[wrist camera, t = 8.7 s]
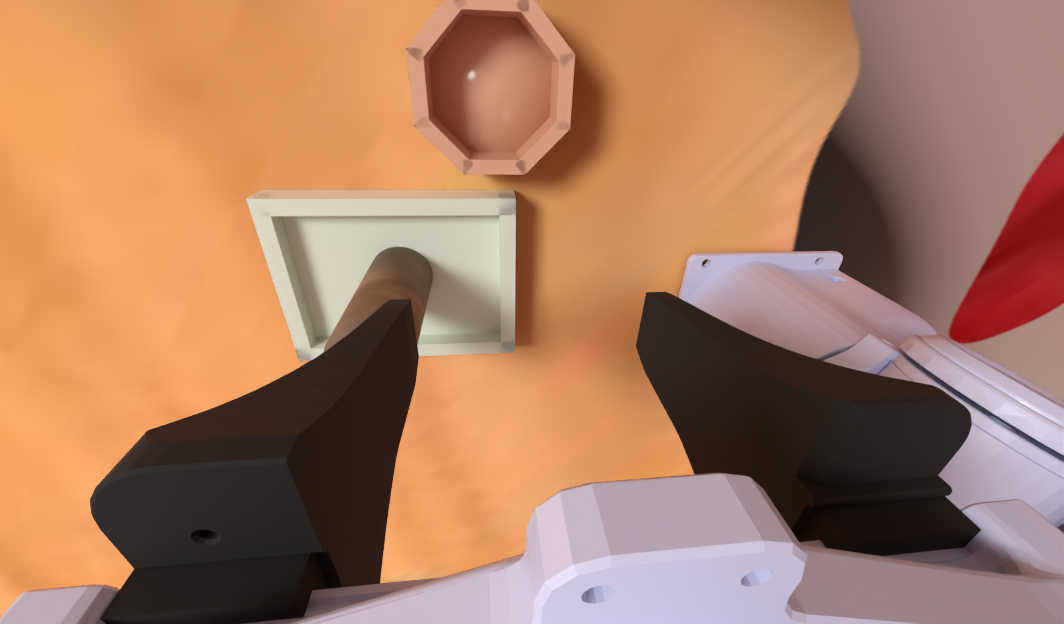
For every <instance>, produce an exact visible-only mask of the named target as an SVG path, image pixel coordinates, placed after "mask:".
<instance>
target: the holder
mask: <svg viewBox="0 0 1064 624" xmlns="http://www.w3.org/2000/svg"><path fill="white" fill-rule="evenodd" d="M406 53H407V62H408V71H409V80H410V89H411V99H412V108H413V117H414V126H415V127H416V128H417V129H418V130H419V131H420V132H421V133H422V134H423V135H424V136H425V137H426V138H427V139H428V140H429V141H430V142H431V143H432V144H433V145H434V146H435V147H436V148H437V149H438V150H439V151H440V152H441V153H442V154H444V155H445V156H446V157H447V158H448V159H449V160H450V161H451V162H452V163H453V164H454V165H455V166H456V167H457V168H458V169H459V170H460V171H461V172H462V173H463V174H464V175H465V174H504V175H526V173H527V172H528V171H529V170H530V169H531V168H532V167H533V166H534V165H535V164H536V163H537V162H538V161H539V160H540V159H541V158H542V157H543V156H544V155H545V154H546V153H547V152H548V151H549V150H550V149H551V148H552V147H553V146H554V145H555V144H556V143H557V142H558V141H559V140H560V139H561V138H562V137H563V136H564V135H565V134H566V133H567V132H568V131H569V130H570V129H571V128H570V123H571V108H572V94H573V79H574V65H575V54H574V52H573V51H572V50H571V48H570V47H569V46H568V44H567V43H566V42H565V40H564V39H563V38H562V36H561V35H560V34H559V32H558V31H557V30H556V28H555V27H554V26H553V24H552V23H551V21H550V20H549V19H548V17H547V16H546V15H545V13H544V12H543V11H542V9H541V8H540V7H539V5H538V4H537V3H536V1H535V0H444V1H443V2H442V3H441V4H440V6H439V7H438V8H437V10H436V11H435V12H434V13H433V15H432V16H431V17H430V19H429V20H428V21H427V22H426V24H425V25H424V26H423V28H422V29H421V30H420V31H419V33H418V34H417V35H416V37H415V38H414V39H413V40H412V42H411V43H410V44H409V46H408V47H407V48H406Z"/></svg>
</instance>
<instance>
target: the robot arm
mask: <svg viewBox="0 0 1064 624" xmlns="http://www.w3.org/2000/svg"><path fill="white" fill-rule="evenodd" d="M818 258H819V259H818ZM707 259H708V261H707V263H706V264H704V265H702V263H703V261H704V260H707ZM817 259H818V261H817V262H815V261H816V260H817ZM842 259H843V256H842V255H841V254H840V253H838V252H836V251H813V252H812V251H811V252H810V251H809V252H744V253H696V254H693V255H691V256H690V257H689V258H688V260H687V264H686V268H685V272H684V276H683V281H682V285H681V289H680V293H679V297H676V296H674V295H672V294H669V293H667V292H646V297H645V303H644V308H643V313H642V318H641V323H640V329H639V334H638V339H637V344H636V347H637V350H638V353H639V356H640V359H641V362H642V365H643V367H644V370H645V373H646V375H647V377H648V378H649V380H650V382H651V384H652V386H653V388H654V390H655V392H656V394H657V395H658V397H659V399H660V401H661V403H662V405H663V406H664V408H665V410H666V412H667V414H668V416H669V417H670V419H671V421H672V423H673V425H674V427H675V429H676V431H677V433H678V435H679V437H680V439H681V441H682V444H683V446H684V449H685V451H686V454H687V456H688V459H689V461H690V464H691V466H692V469H693V471H694V474H695V475H682V476H669V477H656V478H644V479H631V480H618V481H605V482H592V483H586V484H582V485H578V486H574V487H570V488H566V489H562V490H560V491H559V492H557V493H556V494H554V495H553V496H551V497H550V498H548V499H547V500H546V501H544V502H543V503H541V504H540V505H539V506H538V507H537V508H536V509H535V511H534V513H533V515H532V517H531V520H530V522H529V524H528V526H527V537H526V549H525V553H523V554H520V555H517V556H513V557H510V558H506V559H503V560H500V561H496V562H493V563H490V564H486V565H483V566H480V567H476V568H473V569H469V570H466V571H463V572H459V573H456V574H453V575H449V576H446V577H442V578H432V579H422V580H412V581H402V582H392V583H382V584H380V577H381V567H382V559H383V550H384V542H385V533H386V525H387V517H388V510H389V503H390V495H391V488H392V482H393V475H394V468H395V462H396V457H397V452H398V447H399V443H400V440H401V436H402V432H403V428H404V425H405V421H406V417H407V414H408V410H409V406H410V402H411V399H412V395H413V391H414V387H415V383H416V375H417V367H418V357H419V354H418V347H417V340H416V332H415V325H414V318H413V311H412V304H411V299H395V300H388V301H387V302H386V303H385V304H383V305H382V306H381V307H380V308H379V309H378V310H376V311H375V312H374V313H373V314H372V315H371V316H370V317H368V318H367V319H366V320H365V321H364V322H362V323H361V324H360V325H359V326H358V327H357V328H355V329H354V330H353V331H352V332H350V333H349V334H348V335H346V336H345V337H344V338H342V339H341V340H340V341H338V342H337V343H336V344H334V345H333V346H332V347H330V348H329V349H328V350H326V351H325V352H323V353H322V354H320V355H319V356H317V357H316V358H314V359H313V360H311V361H309V362H308V363H306V364H304V365H303V366H301V367H300V368H298V369H296V370H294V371H293V372H291V373H289V374H287V375H285V376H283V377H281V378H279V379H277V380H275V381H273V382H271V383H269V384H267V385H265V386H263V387H261V388H259V389H257V390H255V391H253V392H251V393H248V394H246V395H244V396H241V397H239V398H237V399H234V400H232V401H230V402H227V403H225V404H222V405H220V406H217V407H215V408H212V409H209V410H207V411H204V412H201V413H198V414H195V415H192V416H190V417H187V418H184V419H181V420H178V421H175V422H172V423H169V424H166V425H163V426H160V427H157V428H154V429H151V430H148V431H147V432H146V433H145V434H144V435H143V436H142V437H141V438H140V440H139V441H138V442H137V443H136V444H135V445H134V446H133V447H132V448H131V449H130V451H129V452H128V453H127V454H126V455H125V456H124V457H123V458H122V459H121V460H120V461H119V463H118V464H117V465H116V466H115V467H114V468H113V469H112V470H111V471H110V472H109V474H108V475H107V476H106V477H105V478H104V479H103V480H102V481H101V482H100V483H99V485H98V486H97V487H96V488H95V490H94V492H93V495H92V497H91V499H90V505H91V513H92V516H93V518H94V520H95V521H96V523H97V525H98V526H99V528H100V530H101V531H102V532H103V533H104V534H105V535H106V536H107V538H108V539H109V540H110V541H111V542H112V543H113V544H114V546H115V547H116V548H117V549H118V550H119V551H120V553H121V554H122V555H123V556H124V557H125V558H126V559H127V561H128V562H129V563H130V564H131V565H132V566H133V567H134V570H133V572H132V573H131V575H130V576H129V578H128V579H127V581H126V582H125V583H124V585H123V586H122V588H121V589H120V590H119V589H118V588H116V587H112V586H108V585H82V586H72V587H61V588H50V589H39V590H30V591H27V592H25V593H22V594H21V595H20V596H19V597H18V598H17V600H16V601H15V602H14V603H13V604H12V605H11V606H10V608H9V609H8V610H7V611H6V612H5V613H4V614H3V616H2V617H1V618H0V624H1064V400H1063V399H1061V398H1059V397H1057V396H1055V395H1054V394H1052V393H1050V392H1048V391H1047V390H1045V389H1043V388H1041V387H1039V386H1038V385H1036V384H1034V383H1032V382H1031V381H1029V380H1027V379H1025V378H1023V377H1022V376H1020V375H1018V374H1015V373H1014V372H1012V371H1010V370H1009V369H1007V368H1005V367H1003V366H1001V365H1000V364H997V363H996V362H994V361H992V360H990V359H989V358H987V357H985V356H983V355H981V354H979V353H977V352H975V351H973V350H971V349H970V348H968V347H966V346H964V345H962V344H960V343H958V342H956V341H954V340H952V339H950V338H947V337H945V336H943V335H938V334H937V333H936V332H935V330H934V329H933V328H932V327H931V326H930V325H929V324H928V323H927V322H926V321H924V320H923V319H922V318H921V317H919V316H917V315H915V314H914V313H912V312H910V311H908V310H907V309H905V308H903V307H902V306H900V305H898V304H896V303H895V302H893V301H891V300H889V299H888V298H886V297H884V296H882V295H881V294H879V293H877V292H875V291H874V290H872V289H870V288H868V287H867V286H865V285H863V284H861V283H860V282H858V281H856V280H854V279H853V278H851V277H849V276H847V275H845V274H844V273H842V272H840V271H839V270H838V269H839V267H840V265H841V262H842Z"/></svg>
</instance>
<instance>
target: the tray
mask: <svg viewBox="0 0 1064 624" xmlns="http://www.w3.org/2000/svg"><path fill="white" fill-rule="evenodd" d="M246 200H247V203H248V206H249V209H250V212H251V215H252V218H253V221H254V224H255V227H256V230H257V234H258V237H259V240H260V243H261V246H262V249H263V252H264V255H265V258H266V261H267V264H268V267H269V270H270V273H271V276H272V279H273V282H274V285H275V288H276V291H277V294H278V297H279V301H280V304H281V307H282V310H283V313H284V316H285V319H286V322H287V325H288V328H289V331H290V334H291V337H292V340H293V343H294V346H295V349H296V352H297V355H298V358H299V361H309V360H313V359H314V358H316V357H317V356H319V355H320V354H322V353H323V352H324V348H325V345H326V343H327V341H328V339H329V337H330V336H331V334H332V332H333V330H334V329H335V327H336V325H337V323H338V322H339V320H340V318H341V316H342V315H343V313H344V311H345V309H346V308H347V306H348V304H349V302H350V301H351V299H352V297H353V295H354V293H355V292H356V290H357V288H358V286H359V285H360V283H361V281H362V279H363V278H364V276H365V274H366V272H367V271H368V269H369V267H370V265H371V264H372V262H373V260H374V259H375V257H376V256H377V255H378V254H379V253H380V252H381V251H383V250H385V249H388V248H391V247H406V248H410V249H413V250H415V251H417V252H418V253H420V254H421V255H422V256H424V258H425V259H426V260H427V261H428V262H429V264H430V266H431V269H432V272H433V281H432V285H431V290H430V294H429V298H428V302H427V307H426V311H425V315H424V319H423V323H422V328H421V332H420V336H419V340H418V345H417V347H418V354H419V356H436V355H461V354H487V353H512V352H515V263H516V197H515V193H514V190H261V191H259V192H258V193H256V194H254V195H252V196H250V197H249V198H247V199H246Z"/></svg>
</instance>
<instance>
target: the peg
mask: <svg viewBox="0 0 1064 624" xmlns="http://www.w3.org/2000/svg"><path fill="white" fill-rule="evenodd" d="M432 281H433V272H432V269H431V266H430V264H429V262H428V261H427V260H426V259H425V258H424V256H422V255H421V254H420V253H418V252H417V251H415V250H413V249H410V248H406V247H391V248H388V249H385V250H383V251H381V252H380V253H379V254H378V255H377V256H376V257H375V259H374V260H373V262H372V264H371V265H370V267H369V269H368V271H367V272H366V274H365V276H364V278H363V279H362V281H361V283H360V285H359V286H358V288H357V290H356V292H355V293H354V295H353V297H352V299H351V301H350V302H349V304H348V306H347V308H346V309H345V311H344V313H343V315H342V316H341V318H340V320H339V322H338V323H337V325H336V327H335V329H334V330H333V332H332V334H331V336H330V337H329V339H328V341H327V343H326V345H325V348H324V352H325V351H326V350H328V349H329V348H330V347H332V346H333V345H334V344H336V343H337V342H338V341H340V340H341V339H342V338H344V337H345V336H346V335H348V334H349V333H350V332H352V331H353V330H354V329H355V328H357V327H358V326H359V325H360V324H361V323H362V322H364V321H365V320H366V319H367V318H368V317H370V316H371V315H372V314H373V313H374V312H375V311H376V310H378V309H379V308H380V307H381V306H382V305H383V304H385V303H386V302H387V301H388V300H395V299H411V304H412V311H413V318H414V325H415V332H416V340H417V345H418V340H419V336H420V332H421V328H422V323H423V319H424V315H425V311H426V307H427V302H428V298H429V294H430V290H431V285H432Z"/></svg>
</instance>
